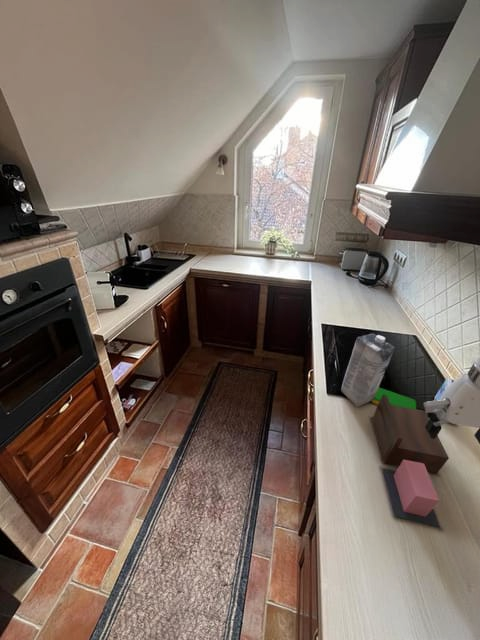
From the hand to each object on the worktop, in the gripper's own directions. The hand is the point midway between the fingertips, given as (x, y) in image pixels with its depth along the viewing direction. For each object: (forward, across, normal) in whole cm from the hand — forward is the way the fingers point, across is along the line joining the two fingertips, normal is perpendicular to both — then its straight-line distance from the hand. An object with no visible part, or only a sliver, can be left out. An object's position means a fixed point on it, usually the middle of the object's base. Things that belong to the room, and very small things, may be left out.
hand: (454, 437), depth 55 cm
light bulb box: (+25, -21, -33) cm, 47 cm away
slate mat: (+24, +2, +1) cm, 24 cm away
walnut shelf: (+25, -1, -15) cm, 29 cm away
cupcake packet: (+24, +2, +1) cm, 24 cm away
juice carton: (+25, +10, -33) cm, 42 cm away
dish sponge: (+25, -3, -32) cm, 41 cm away
